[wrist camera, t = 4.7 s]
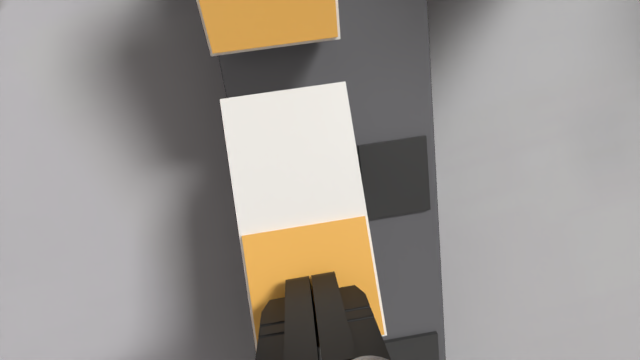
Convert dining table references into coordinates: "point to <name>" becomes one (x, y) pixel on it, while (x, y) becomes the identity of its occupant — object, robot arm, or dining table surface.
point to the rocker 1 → (267, 23)
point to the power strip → (378, 149)
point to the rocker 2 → (298, 193)
